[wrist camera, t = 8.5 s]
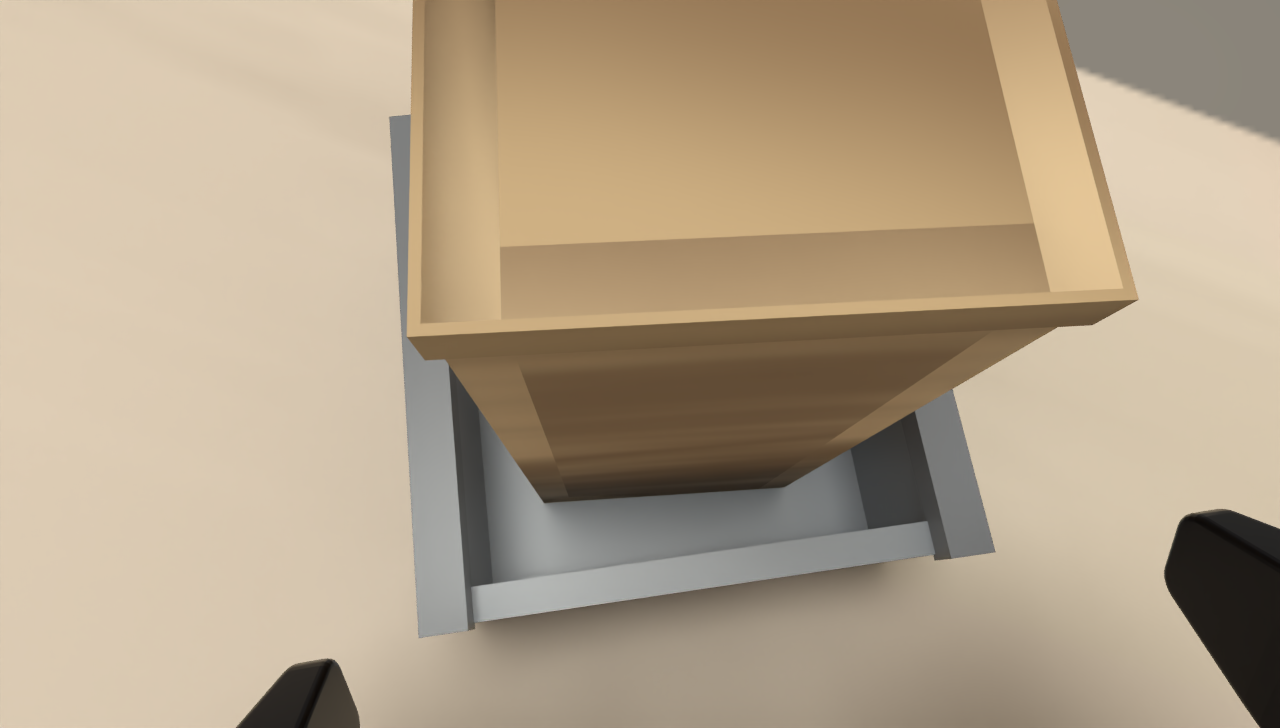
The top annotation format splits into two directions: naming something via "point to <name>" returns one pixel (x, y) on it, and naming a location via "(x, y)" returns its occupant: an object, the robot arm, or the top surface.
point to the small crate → (741, 223)
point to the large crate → (653, 505)
